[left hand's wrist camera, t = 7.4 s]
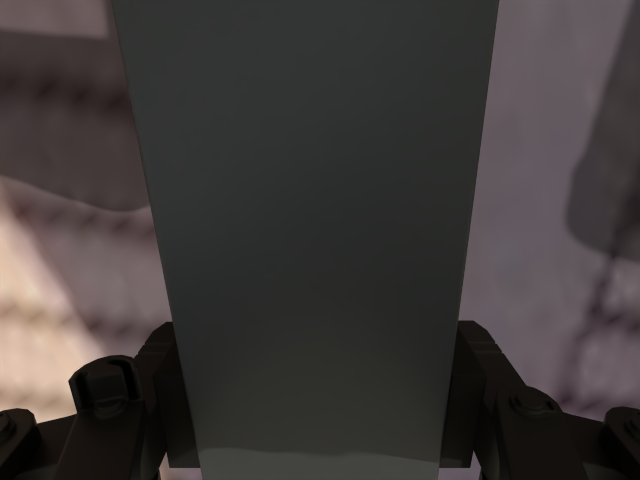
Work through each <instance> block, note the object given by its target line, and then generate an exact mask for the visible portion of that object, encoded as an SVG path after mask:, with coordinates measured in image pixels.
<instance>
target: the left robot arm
mask: <svg viewBox="0 0 640 480" xmlns="http://www.w3.org/2000/svg"><path fill="white" fill-rule="evenodd" d="M68 382H69V386H70V389H71V392H72V396H73V399H74V403H75V406H76V410H77V414H74V415H71V416H68V417H64V418H59V419H55V420H51V421H46V422H42V423H38V424H37V422H36V419H35V417H34V414H33V413H31V412H30V411H29V410H27V409H19V408H16V409H9V410H3V411H1V412H0V480H161V476H160V471H159V467H160V465H161V462H162V460H163V458H164V455H165V453H166V452H167V457H168V462H169V467H170V468H200V462H199V457H198V452H197V447H196V441H195V436H194V431H193V426H192V420H191V415H190V410H189V405H188V400H187V394H186V389H185V384H184V379H183V373H182V368H181V363H180V358H179V352H178V347H177V342H176V337H175V332H174V326H173V322H166V323H164V324H163V325H161V326H160V327H159V328H157V329H156V330H154V331H153V332H152V333H151V335H150V336H149V338H148V339H147V341H146V342H145V345H143V346H142V348H141V349H140V350H139V352H138V355H136V356H135V357H134V359H133V358H132V357H129V356H125V355H113V356H107V357H103V358H99V359H96V360H94V361H92V362H90V363H88V364H86V365H84V366H83V367H81V368H80V369H79V370H77V371H76V372H75V373H74V374H73V375H72V377H71V378H70V379H69V381H68ZM473 450H474V452H475V454H476V457H477V459H478V461H479V464H480V466H481V471H480V476H479V480H640V410H639V409H635V408H629V407H615V408H612V409H610V410H609V411H608V412H607V413H606V415H605V418H604V421H603V422H600V421H596V420H592V419H587V418H583V417H579V416H574V415H571V414H567V413H564V412H563V411H562V410H561V408H560V407H559V405H558V404H557V402H556V401H554V400H553V399H552V398H551V397H550V396H548V395H547V394H545V393H543V392H541V391H540V390H538V389H536V388H533V387H529V386H526V384H525V383H524V382H523V380H522V379H521V377H520V376H519V375H518V373H517V372H516V370H515V369H514V368H513V366H512V365H511V363H510V362H509V361H508V359H507V358H506V356H505V355H504V354H503V353H502V351H501V349H500V348H499V346H498V345H497V344H495V341H494V339H493V338H492V337H491V335H490V334H489V332H488V331H487V330H486V329H484V328H483V327H482V326H480V325H479V324H477V323H476V322H475V321H458V325H457V332H456V340H455V348H454V356H453V364H452V371H451V379H450V387H449V395H448V402H447V410H446V418H445V426H444V434H443V441H442V449H441V457H440V465H439V468H470V466H471V460H472V455H473Z"/></svg>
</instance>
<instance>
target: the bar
mask: <svg viewBox="0 0 640 480" xmlns="http://www.w3.org/2000/svg"><path fill="white" fill-rule="evenodd" d="M111 2H112V7H113V12H114V18H115V23H116V28H117V33H118V39H119V44H120V49H121V54H122V59H123V65H124V70H125V75H126V80H127V86H128V91H129V96H130V101H131V107H132V112H133V117H134V122H135V127H136V133H137V138H138V143H139V148H140V154H141V159H142V164H143V169H144V175H145V180H146V185H147V190H148V195H149V201H150V206H151V211H152V216H153V222H154V227H155V232H156V237H157V243H158V248H159V253H160V258H161V263H162V269H163V274H164V279H165V284H166V290H167V295H168V300H169V305H170V311H171V316H172V321H173V326H174V332H175V337H176V342H177V347H178V352H179V358H180V363H181V368H182V373H183V379H184V384H185V389H186V394H187V400H188V405H189V410H190V415H191V420H192V426H193V431H194V436H195V441H196V447H197V452H198V457H199V462H200V468H201V473H202V478H203V480H438V473H439V465H440V457H441V449H442V441H443V434H444V426H445V418H446V410H447V402H448V395H449V387H450V379H451V371H452V364H453V356H454V348H455V340H456V332H457V325H458V317H459V309H460V301H461V293H462V286H463V278H464V270H465V262H466V255H467V247H468V239H469V231H470V223H471V216H472V208H473V200H474V192H475V184H476V177H477V169H478V161H479V153H480V145H481V138H482V130H483V122H484V114H485V107H486V99H487V91H488V83H489V75H490V68H491V60H492V52H493V44H494V36H495V29H496V21H497V13H498V5H499V0H111Z"/></svg>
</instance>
